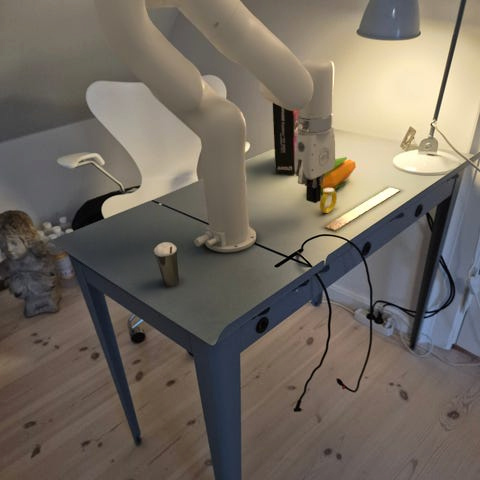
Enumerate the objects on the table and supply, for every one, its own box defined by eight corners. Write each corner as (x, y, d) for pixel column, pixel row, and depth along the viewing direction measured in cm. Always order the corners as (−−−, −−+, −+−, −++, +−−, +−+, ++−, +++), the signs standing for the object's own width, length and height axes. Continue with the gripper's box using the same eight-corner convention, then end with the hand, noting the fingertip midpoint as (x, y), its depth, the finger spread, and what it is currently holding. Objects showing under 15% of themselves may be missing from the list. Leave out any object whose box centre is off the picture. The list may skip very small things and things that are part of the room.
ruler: (335, 231, 109) (335, 230, 109) (324, 227, 111) (324, 226, 111) (399, 191, 125) (399, 190, 125) (389, 188, 127) (389, 187, 127)
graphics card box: (294, 175, 139) (295, 77, 122) (273, 174, 141) (270, 78, 124) (305, 157, 152) (307, 65, 135) (285, 156, 154) (285, 66, 137)
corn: (305, 167, 123) (344, 146, 134) (302, 193, 128) (340, 171, 139) (327, 174, 119) (366, 152, 130) (324, 201, 124) (362, 177, 135)
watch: (329, 205, 121) (330, 184, 117) (338, 208, 119) (340, 186, 116) (317, 214, 117) (317, 192, 114) (326, 216, 116) (327, 194, 112)
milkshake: (169, 292, 94) (160, 250, 87) (157, 282, 97) (148, 240, 91) (188, 284, 95) (181, 242, 89) (175, 274, 99) (168, 233, 93)
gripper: (306, 135, 94) (306, 216, 105) (348, 116, 102) (343, 194, 113) (279, 129, 98) (282, 207, 110) (321, 112, 106) (319, 187, 118)
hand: (313, 200), depth 111 cm, fingers closed
